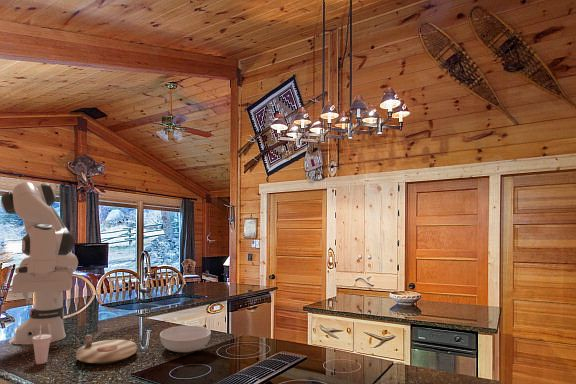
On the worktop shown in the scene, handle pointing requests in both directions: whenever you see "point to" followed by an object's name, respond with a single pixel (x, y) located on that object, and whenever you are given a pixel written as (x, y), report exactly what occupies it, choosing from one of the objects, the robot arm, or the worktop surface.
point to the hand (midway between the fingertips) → (42, 303)
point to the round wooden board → (105, 350)
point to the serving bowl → (185, 338)
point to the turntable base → (106, 362)
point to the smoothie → (41, 347)
